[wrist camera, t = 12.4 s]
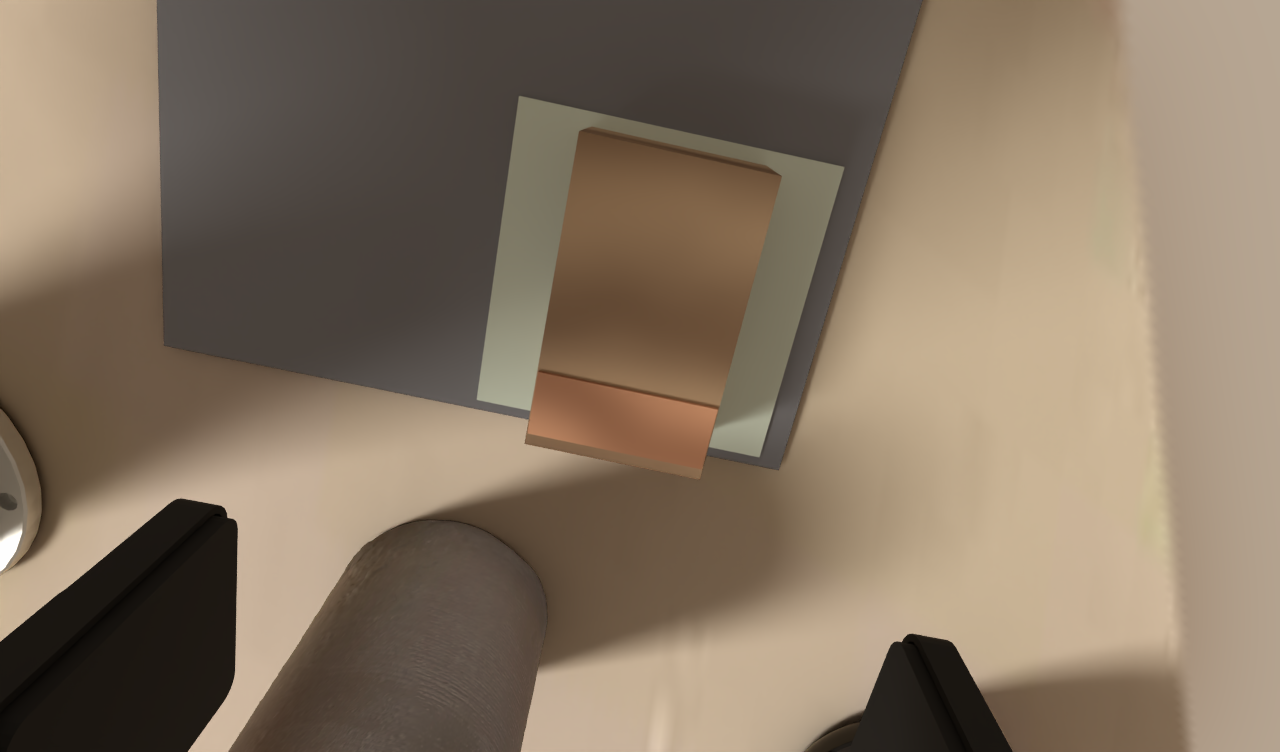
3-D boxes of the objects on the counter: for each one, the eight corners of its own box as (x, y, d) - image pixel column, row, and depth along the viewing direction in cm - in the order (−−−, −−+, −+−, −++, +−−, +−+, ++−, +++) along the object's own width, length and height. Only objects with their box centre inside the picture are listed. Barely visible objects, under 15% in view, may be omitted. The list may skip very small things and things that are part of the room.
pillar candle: (361, 685, 37) (181, 1044, 23) (329, 514, 34) (96, 814, 20) (556, 686, 37) (494, 1049, 23) (544, 514, 33) (463, 818, 19)
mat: (170, 342, 31) (160, 347, 31) (160, -234, 24) (147, -242, 24) (777, 465, 32) (779, 472, 32) (935, -54, 25) (941, -58, 25)
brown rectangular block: (591, 126, 27) (578, 131, 23) (766, 165, 27) (782, 177, 23) (542, 401, 31) (524, 445, 27) (696, 433, 31) (700, 481, 27)
